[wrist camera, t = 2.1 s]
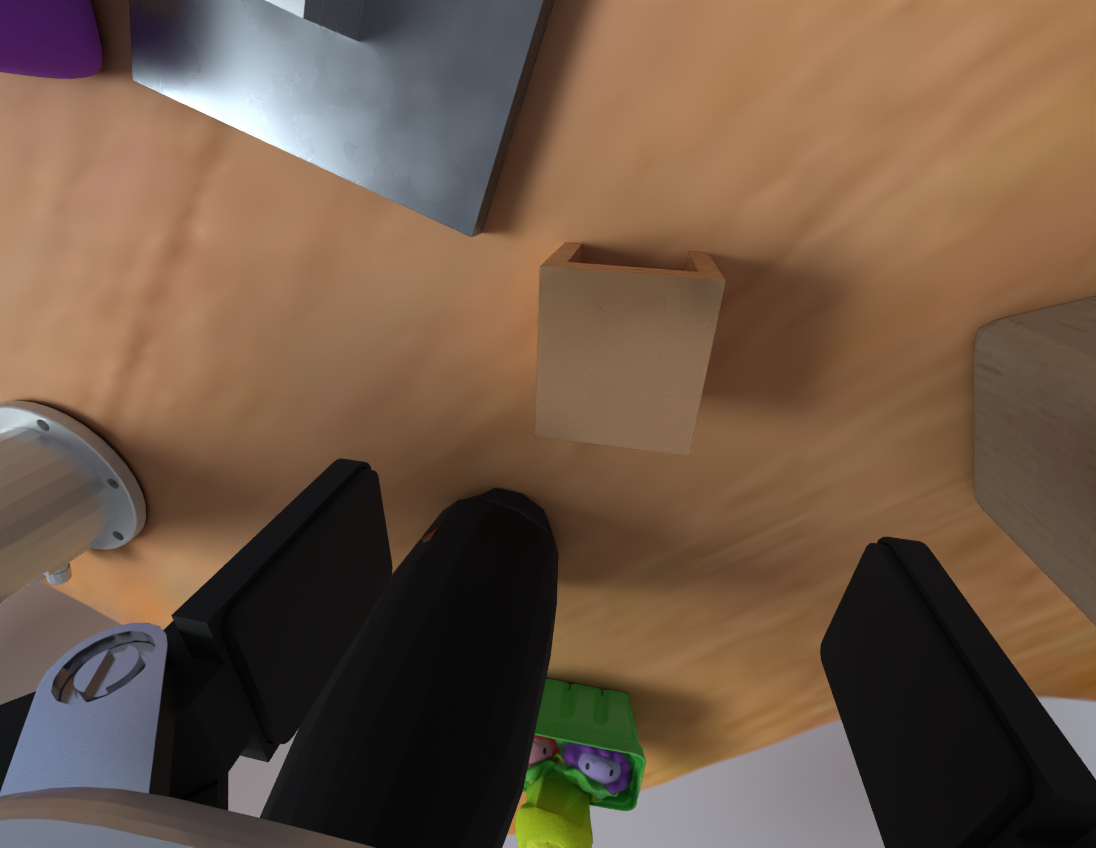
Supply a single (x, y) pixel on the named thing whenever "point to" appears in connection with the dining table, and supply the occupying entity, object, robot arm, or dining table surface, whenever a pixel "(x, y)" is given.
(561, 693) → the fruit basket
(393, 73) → the plate
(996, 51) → the dining table surface
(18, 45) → the toy camera
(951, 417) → the dining table surface
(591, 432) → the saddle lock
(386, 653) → the portable speaker
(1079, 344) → the wooden block
